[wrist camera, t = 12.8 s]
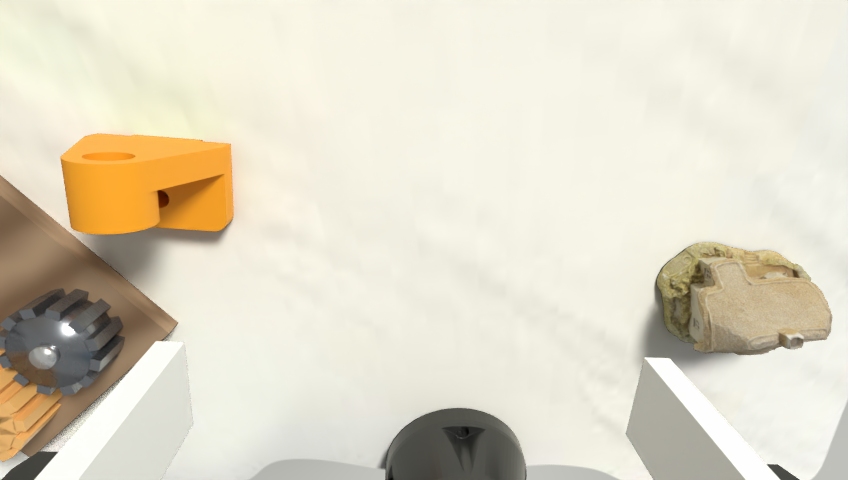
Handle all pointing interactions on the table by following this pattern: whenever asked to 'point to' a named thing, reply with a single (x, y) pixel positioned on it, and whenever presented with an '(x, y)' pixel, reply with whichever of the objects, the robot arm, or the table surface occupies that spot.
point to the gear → (60, 341)
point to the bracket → (147, 184)
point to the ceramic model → (741, 301)
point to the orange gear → (22, 412)
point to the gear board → (69, 269)
